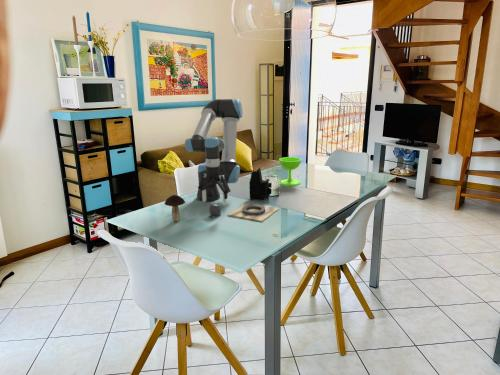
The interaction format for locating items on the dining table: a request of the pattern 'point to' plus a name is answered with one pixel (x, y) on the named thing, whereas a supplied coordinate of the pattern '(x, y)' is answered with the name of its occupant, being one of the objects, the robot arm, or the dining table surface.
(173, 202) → the decorative mushroom
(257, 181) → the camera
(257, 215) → the mount
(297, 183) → the wineglass
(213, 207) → the cap
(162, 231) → the dining table surface
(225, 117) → the robot arm
